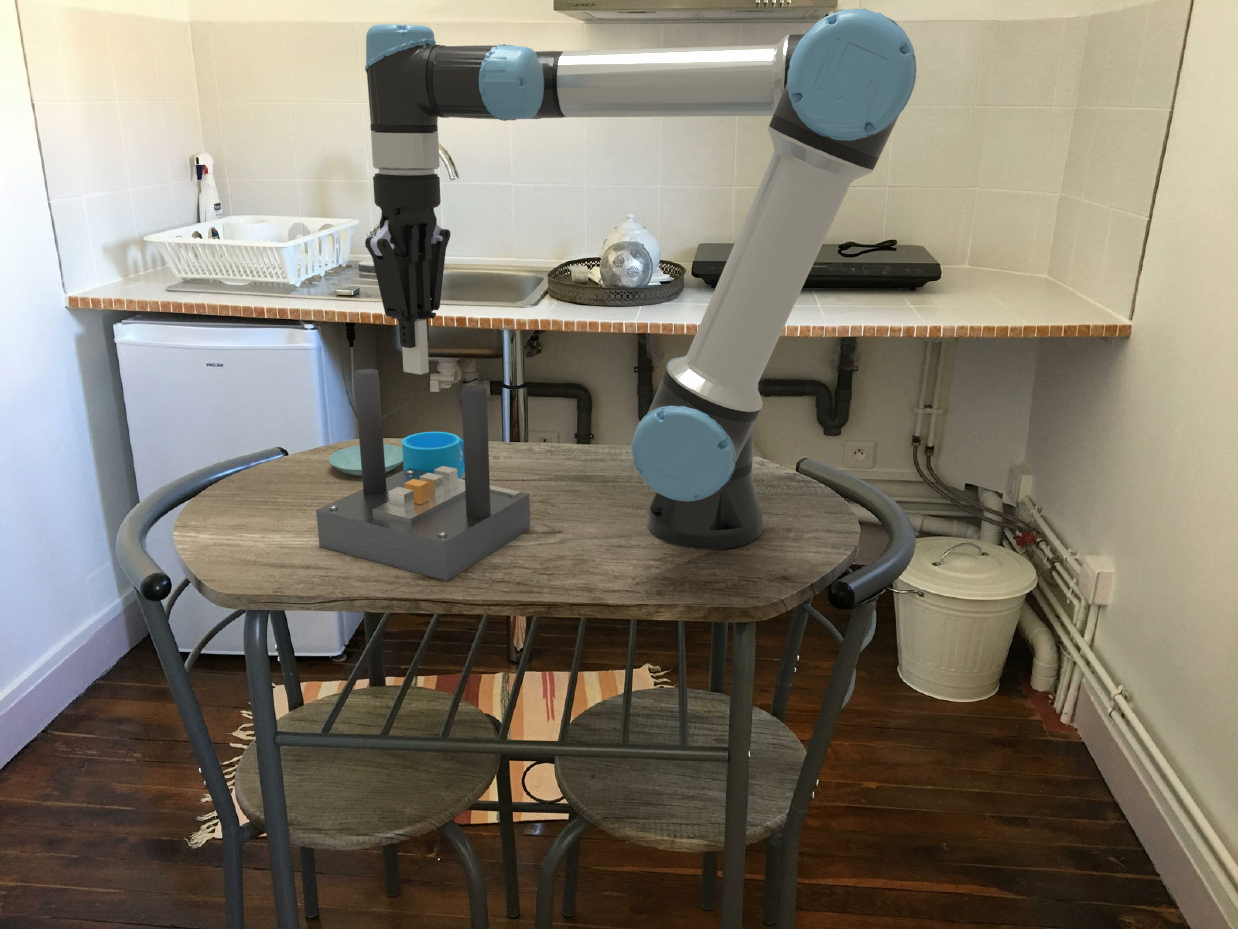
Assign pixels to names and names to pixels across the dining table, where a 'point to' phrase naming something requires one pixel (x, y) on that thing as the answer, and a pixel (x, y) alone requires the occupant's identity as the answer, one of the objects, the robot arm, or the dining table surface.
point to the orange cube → (418, 490)
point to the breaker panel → (422, 524)
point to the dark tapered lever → (476, 451)
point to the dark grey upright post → (370, 431)
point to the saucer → (351, 459)
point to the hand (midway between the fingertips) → (416, 371)
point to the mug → (433, 452)
